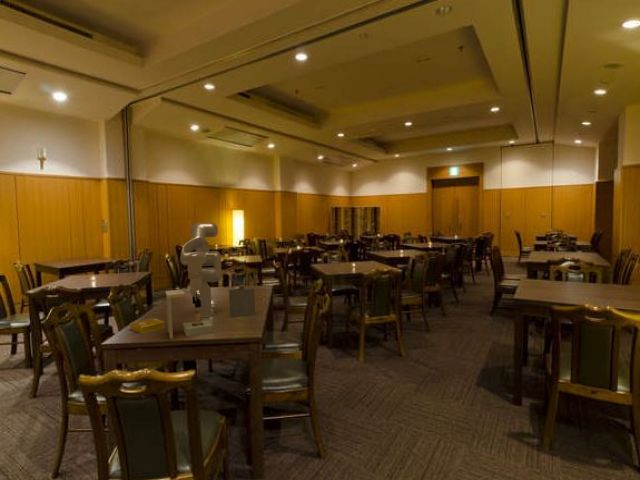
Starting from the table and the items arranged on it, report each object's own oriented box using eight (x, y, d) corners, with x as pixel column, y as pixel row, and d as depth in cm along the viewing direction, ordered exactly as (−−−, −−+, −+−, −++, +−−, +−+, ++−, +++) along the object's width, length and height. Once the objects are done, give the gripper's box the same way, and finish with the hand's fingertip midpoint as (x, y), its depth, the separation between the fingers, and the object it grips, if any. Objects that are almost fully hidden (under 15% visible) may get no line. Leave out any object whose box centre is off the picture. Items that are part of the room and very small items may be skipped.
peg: (193, 330, 218) (192, 310, 217) (201, 329, 219) (200, 309, 219) (194, 332, 214) (193, 311, 213) (202, 331, 216) (201, 310, 215)
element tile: (166, 328, 225) (165, 320, 225) (140, 334, 214) (139, 326, 214) (154, 324, 235) (153, 316, 235) (129, 330, 224) (128, 322, 224)
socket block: (167, 332, 216) (165, 291, 215) (208, 326, 226) (206, 287, 225) (169, 339, 204) (167, 295, 202) (212, 332, 213) (210, 290, 212)
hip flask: (254, 314, 253) (253, 284, 252) (255, 315, 249) (254, 285, 248) (230, 316, 249) (228, 285, 248) (230, 317, 245) (228, 286, 244)
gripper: (186, 273, 221) (188, 302, 223) (190, 278, 206) (191, 309, 207) (199, 272, 224) (201, 301, 226) (204, 277, 209) (206, 308, 210)
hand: (196, 305), depth 217 cm, fingers open, 9 cm apart
